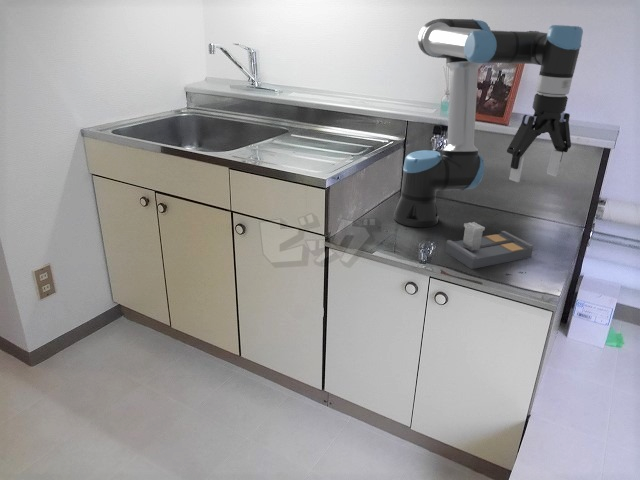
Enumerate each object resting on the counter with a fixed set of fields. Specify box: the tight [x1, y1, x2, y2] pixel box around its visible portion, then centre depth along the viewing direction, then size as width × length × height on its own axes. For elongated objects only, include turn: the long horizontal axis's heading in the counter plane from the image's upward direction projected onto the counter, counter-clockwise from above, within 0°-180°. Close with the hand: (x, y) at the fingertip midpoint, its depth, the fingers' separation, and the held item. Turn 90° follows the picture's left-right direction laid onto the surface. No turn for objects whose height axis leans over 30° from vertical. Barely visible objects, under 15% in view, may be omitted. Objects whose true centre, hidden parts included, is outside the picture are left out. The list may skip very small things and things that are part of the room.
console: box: [445, 230, 534, 270], centre depth 152 cm, size 12×22×4 cm, turn 114°
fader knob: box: [462, 221, 486, 251], centre depth 147 cm, size 5×4×7 cm
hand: (533, 177), depth 134 cm, fingers open, 13 cm apart
